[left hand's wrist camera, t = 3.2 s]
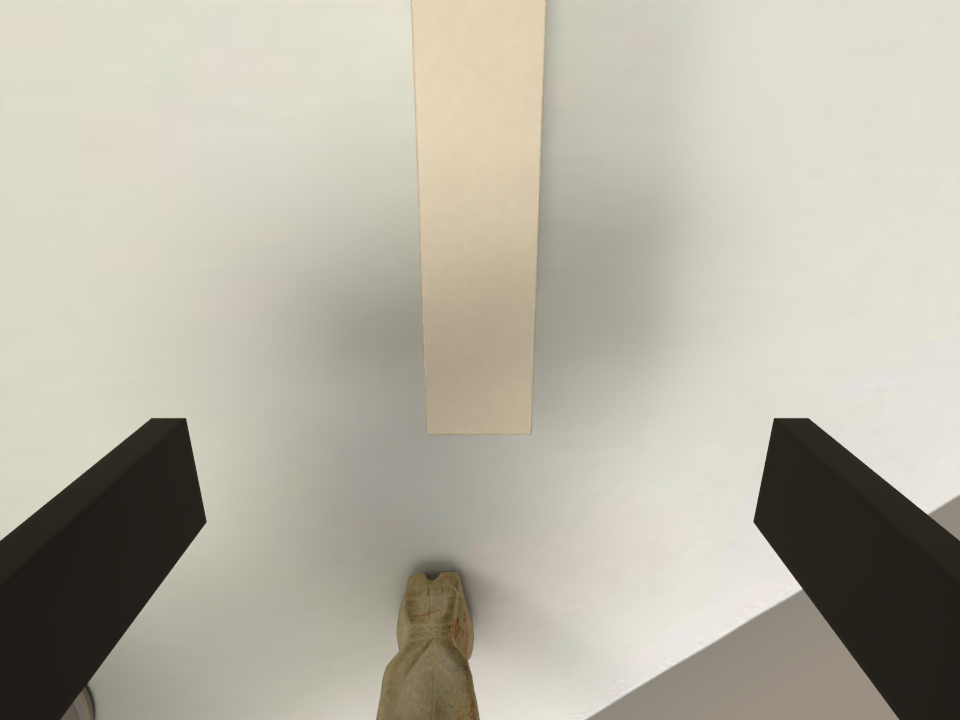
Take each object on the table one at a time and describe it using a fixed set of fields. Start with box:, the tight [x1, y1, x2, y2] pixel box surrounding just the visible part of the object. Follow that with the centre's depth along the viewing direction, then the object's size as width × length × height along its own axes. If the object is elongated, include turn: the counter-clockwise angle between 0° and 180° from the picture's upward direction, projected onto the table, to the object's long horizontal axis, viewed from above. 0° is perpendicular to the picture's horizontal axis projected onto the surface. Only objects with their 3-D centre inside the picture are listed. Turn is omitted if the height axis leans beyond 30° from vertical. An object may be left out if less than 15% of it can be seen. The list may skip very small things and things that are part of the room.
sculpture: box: [376, 572, 480, 720], centre depth 33 cm, size 6×7×15 cm
